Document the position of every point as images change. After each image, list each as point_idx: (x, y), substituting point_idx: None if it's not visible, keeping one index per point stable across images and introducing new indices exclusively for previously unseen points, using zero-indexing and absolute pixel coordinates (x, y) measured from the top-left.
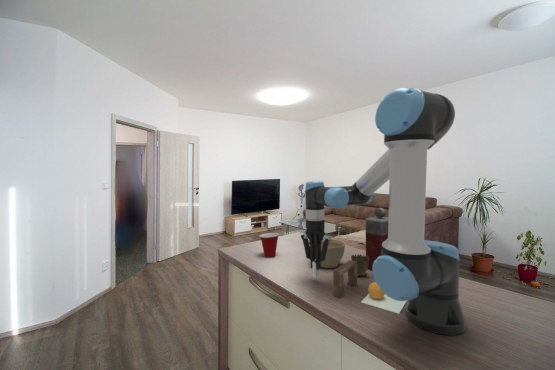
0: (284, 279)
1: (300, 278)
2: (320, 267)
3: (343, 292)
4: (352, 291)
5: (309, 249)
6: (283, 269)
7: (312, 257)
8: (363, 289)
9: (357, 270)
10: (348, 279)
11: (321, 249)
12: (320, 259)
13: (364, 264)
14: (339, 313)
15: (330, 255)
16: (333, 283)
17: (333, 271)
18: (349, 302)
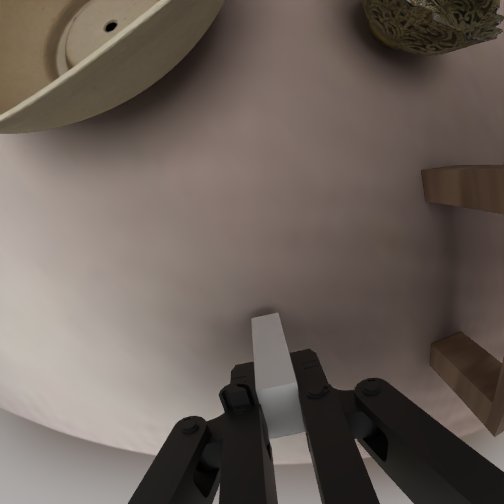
0: (134, 416)
1: (169, 357)
2: (317, 359)
3: (470, 341)
4: (472, 261)
5: (184, 501)
6: (19, 326)
7: (271, 465)
8: None
9: (423, 54)
10: (445, 203)
11: (65, 98)
12: (370, 440)
13: (480, 33)
14: None
15: (186, 44)
16: (459, 396)
17: (493, 433)
18: (486, 347)
